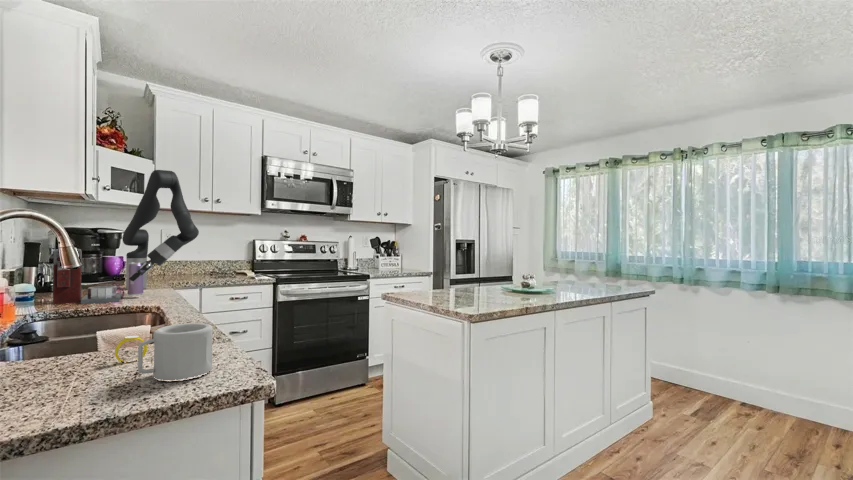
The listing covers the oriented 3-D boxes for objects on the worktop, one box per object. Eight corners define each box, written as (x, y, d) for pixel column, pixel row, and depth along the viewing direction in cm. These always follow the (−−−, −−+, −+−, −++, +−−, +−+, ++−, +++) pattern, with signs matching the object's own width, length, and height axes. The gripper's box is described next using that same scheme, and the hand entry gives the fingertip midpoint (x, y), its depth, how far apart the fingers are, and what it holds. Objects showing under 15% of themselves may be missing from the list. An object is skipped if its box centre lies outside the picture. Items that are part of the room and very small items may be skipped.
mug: (200, 363, 92) (200, 320, 92) (220, 373, 85) (221, 327, 85) (129, 378, 81) (130, 330, 81) (146, 391, 75) (147, 339, 75)
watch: (143, 359, 95) (146, 334, 96) (147, 361, 94) (149, 336, 94) (112, 362, 91) (115, 336, 91) (115, 365, 89) (118, 338, 89)
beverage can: (146, 293, 190) (146, 262, 190) (136, 295, 184) (136, 263, 184) (134, 293, 191) (135, 262, 190) (124, 295, 185) (124, 263, 184)
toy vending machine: (52, 305, 165) (53, 238, 165) (54, 302, 174) (54, 238, 174) (81, 303, 171) (81, 238, 171) (81, 300, 179) (81, 238, 179)
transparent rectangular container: (85, 299, 183) (85, 286, 183) (121, 296, 190) (121, 284, 190) (80, 304, 168) (80, 290, 168) (119, 301, 176) (119, 288, 176)
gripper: (154, 247, 197) (124, 272, 190) (155, 249, 186) (123, 275, 179) (167, 258, 200) (138, 283, 194) (168, 260, 189) (137, 286, 182)
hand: (131, 279), depth 186 cm, fingers closed on beverage can, 6 cm apart
